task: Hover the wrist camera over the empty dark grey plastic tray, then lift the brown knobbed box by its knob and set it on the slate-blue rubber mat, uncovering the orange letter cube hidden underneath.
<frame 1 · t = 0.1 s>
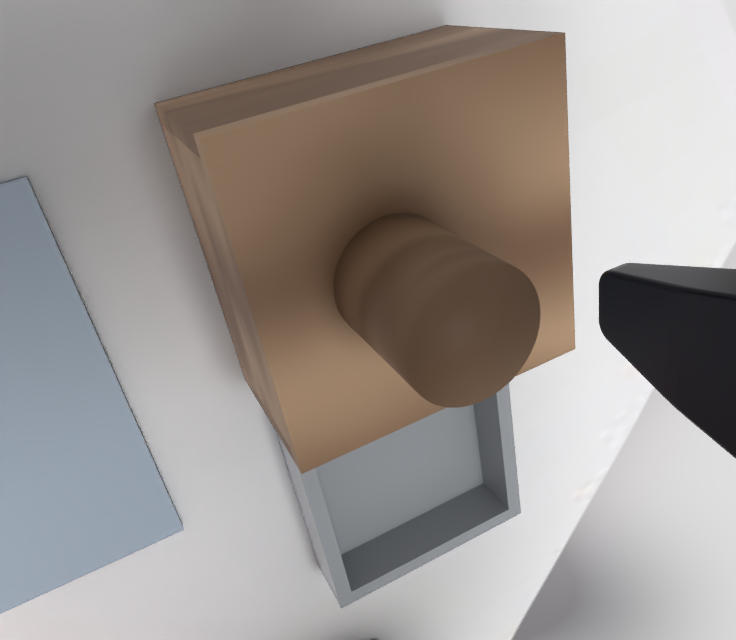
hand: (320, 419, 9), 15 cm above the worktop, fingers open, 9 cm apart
tray: (392, 448, 29), on the worktop
brown knobbed box: (341, 210, 24), on the worktop
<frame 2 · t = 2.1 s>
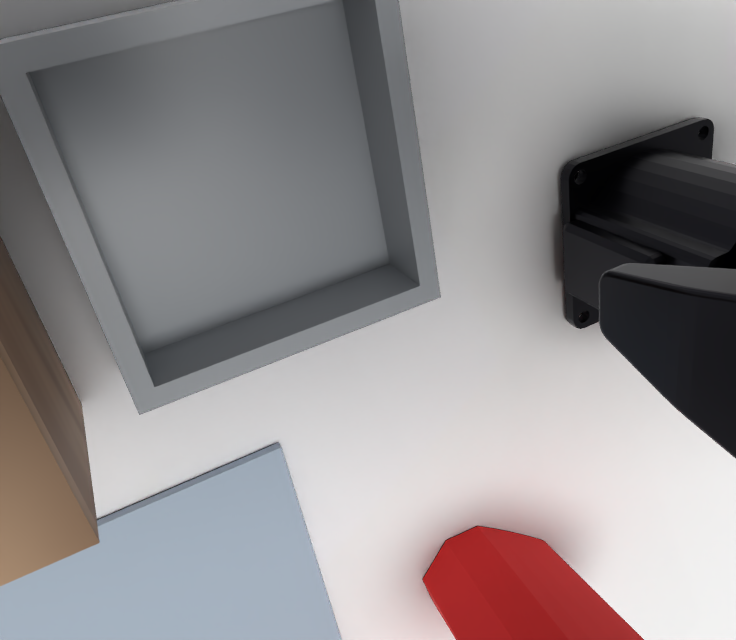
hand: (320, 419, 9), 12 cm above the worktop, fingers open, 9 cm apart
tray: (233, 176, 19), on the worktop
french fries: (482, 566, 30), on the worktop
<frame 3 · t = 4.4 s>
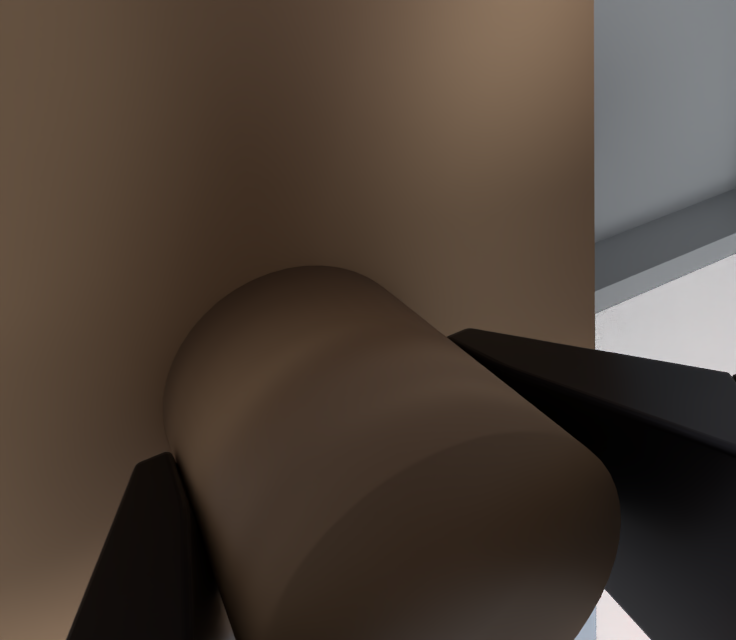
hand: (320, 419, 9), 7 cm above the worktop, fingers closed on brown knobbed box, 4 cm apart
tray: (618, 78, 17), on the worktop
mat: (420, 639, 22), on the worktop
brown knobbed box: (187, 209, 14), on the worktop, touching gripper
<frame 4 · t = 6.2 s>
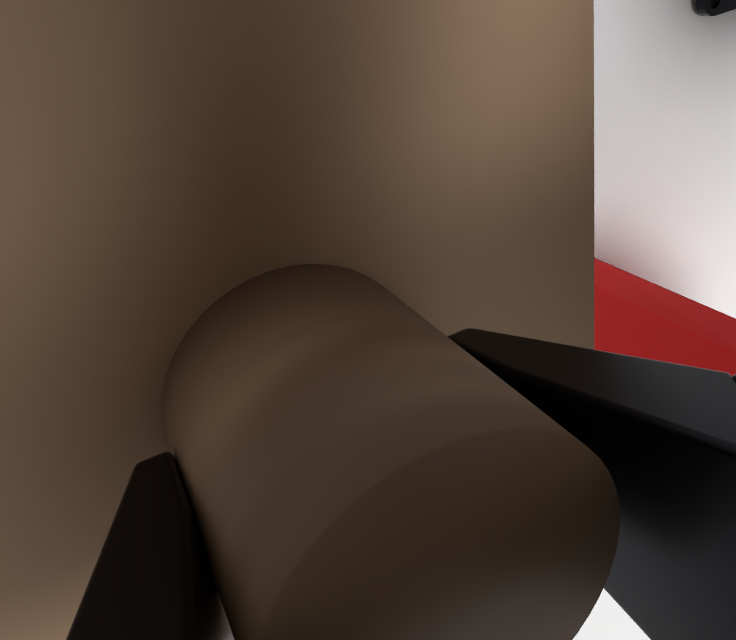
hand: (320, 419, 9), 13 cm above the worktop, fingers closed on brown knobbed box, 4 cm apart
french fries: (591, 312, 29), on the worktop
brown knobbed box: (186, 208, 14), point 6 cm above the worktop, touching gripper
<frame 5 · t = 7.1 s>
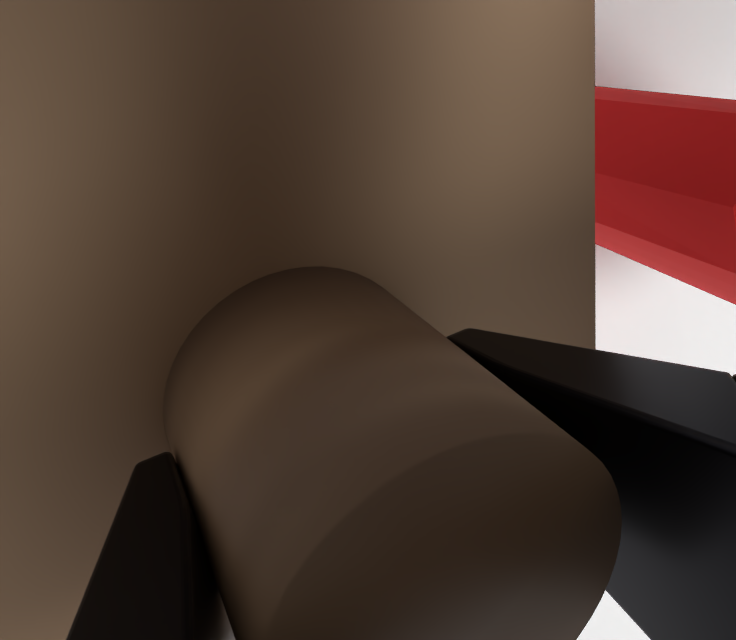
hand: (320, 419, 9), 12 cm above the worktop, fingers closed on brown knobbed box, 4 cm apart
french fries: (567, 162, 24), on the worktop
brown knobbed box: (187, 210, 14), point 5 cm above the worktop, touching gripper
when the fingers open (8 cm above the worktop, at t = 7.9 s): brown knobbed box drops 1 cm, resting on mat.
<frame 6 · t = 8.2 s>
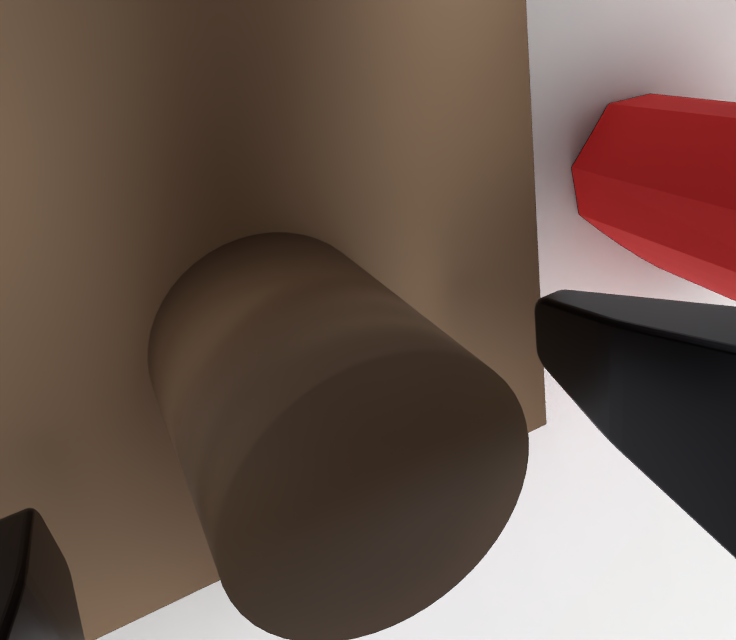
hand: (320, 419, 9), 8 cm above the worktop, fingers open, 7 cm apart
french fries: (643, 182, 21), on the worktop
brown knobbed box: (175, 192, 15), resting on mat
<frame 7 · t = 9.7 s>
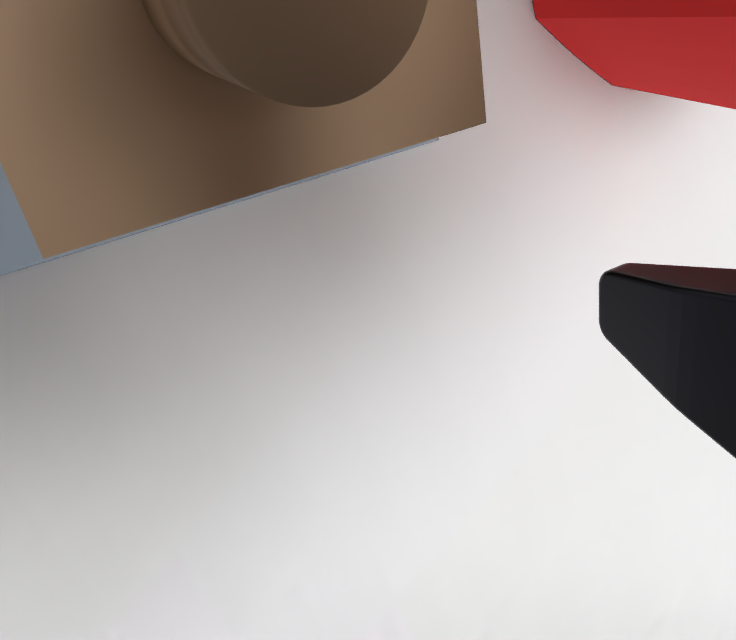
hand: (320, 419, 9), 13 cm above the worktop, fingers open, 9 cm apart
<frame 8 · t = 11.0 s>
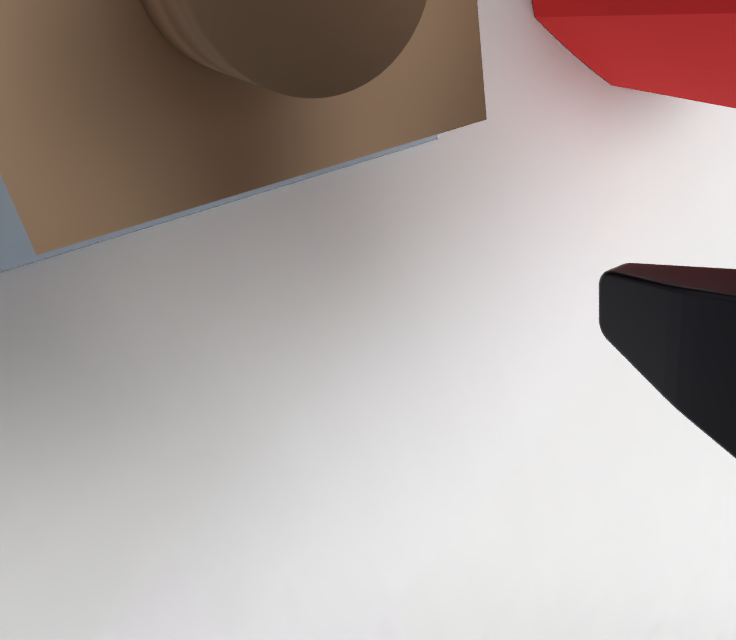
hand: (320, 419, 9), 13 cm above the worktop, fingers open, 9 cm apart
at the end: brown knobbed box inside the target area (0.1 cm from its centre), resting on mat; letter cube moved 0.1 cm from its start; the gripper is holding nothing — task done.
